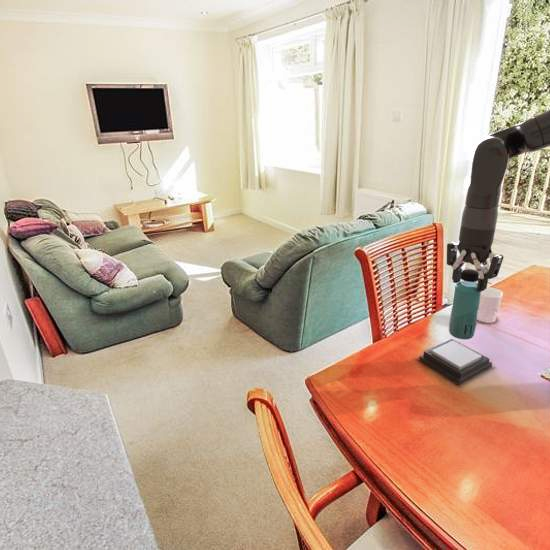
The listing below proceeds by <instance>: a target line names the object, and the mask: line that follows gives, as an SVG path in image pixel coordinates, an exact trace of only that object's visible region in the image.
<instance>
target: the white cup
mask: <svg viewBox="0 0 550 550" xmlns="http://www.w3.org/2000/svg"><path fill="white" fill-rule="evenodd" d="M503 296H504V292H503V291H502V290H500V289H498V288H494V287H490V286H487V288H486V289H485V290H484V291H482V292H481V294H480V305H479V307H478V308H479V310H478V313H477V319H476V321H477V322H482V323H486V324H487V323H488V324H490V323H494V322H496V320H497V316H498V314H499V311H500V307H501V305H502V300H503Z"/></svg>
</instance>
